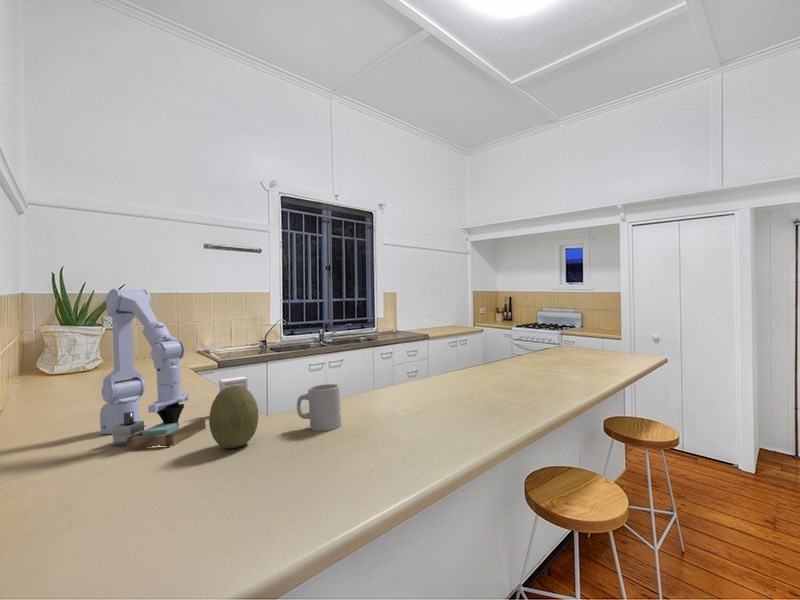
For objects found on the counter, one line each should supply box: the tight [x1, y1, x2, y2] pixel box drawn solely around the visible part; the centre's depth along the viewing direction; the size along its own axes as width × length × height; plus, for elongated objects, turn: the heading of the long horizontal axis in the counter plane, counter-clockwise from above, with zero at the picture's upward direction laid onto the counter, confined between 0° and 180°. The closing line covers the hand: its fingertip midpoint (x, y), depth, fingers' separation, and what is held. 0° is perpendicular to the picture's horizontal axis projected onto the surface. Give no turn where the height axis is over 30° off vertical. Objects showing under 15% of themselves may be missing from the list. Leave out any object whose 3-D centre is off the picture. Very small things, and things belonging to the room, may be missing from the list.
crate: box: [142, 422, 180, 436], centre depth 100 cm, size 6×6×4 cm
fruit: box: [208, 386, 259, 449], centre depth 92 cm, size 11×11×15 cm
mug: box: [296, 383, 342, 432], centre depth 104 cm, size 12×8×11 cm
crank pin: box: [124, 412, 134, 426], centre depth 103 cm, size 2×2×6 cm
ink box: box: [218, 375, 249, 392], centre depth 129 cm, size 8×5×12 cm, turn 124°
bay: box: [127, 417, 207, 450], centre depth 103 cm, size 11×16×3 cm
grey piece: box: [112, 420, 145, 448], centre depth 102 cm, size 7×7×5 cm
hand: (171, 431), depth 104 cm, fingers closed
